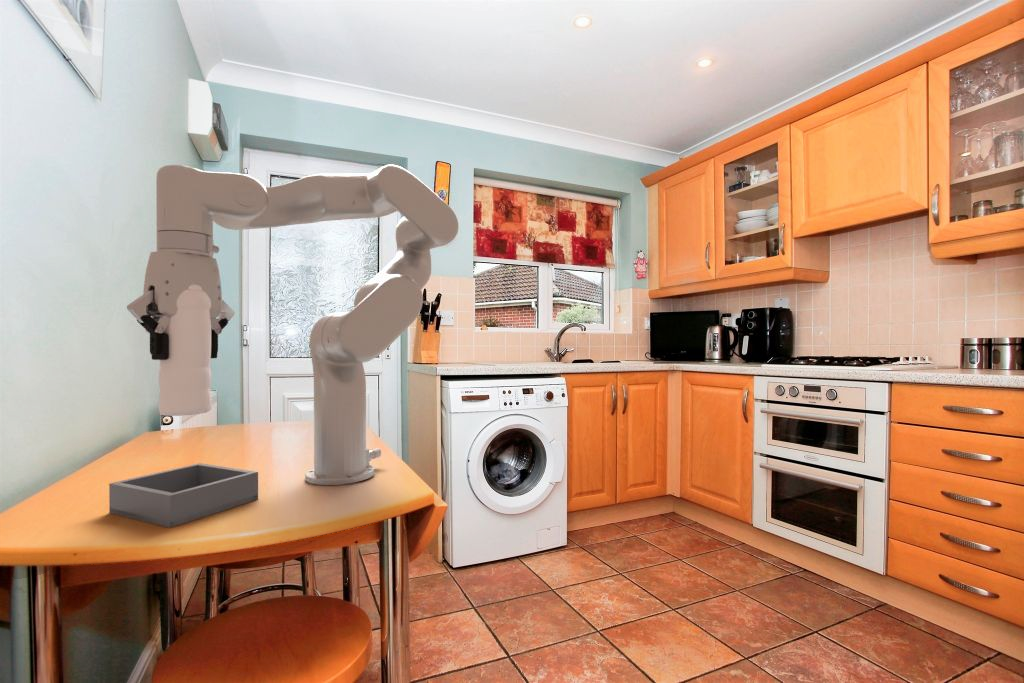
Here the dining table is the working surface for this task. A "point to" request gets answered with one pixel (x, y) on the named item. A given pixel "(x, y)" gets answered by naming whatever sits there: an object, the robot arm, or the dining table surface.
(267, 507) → the dining table surface
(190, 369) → the water bottle
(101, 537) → the dining table surface
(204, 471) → the tray
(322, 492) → the dining table surface
